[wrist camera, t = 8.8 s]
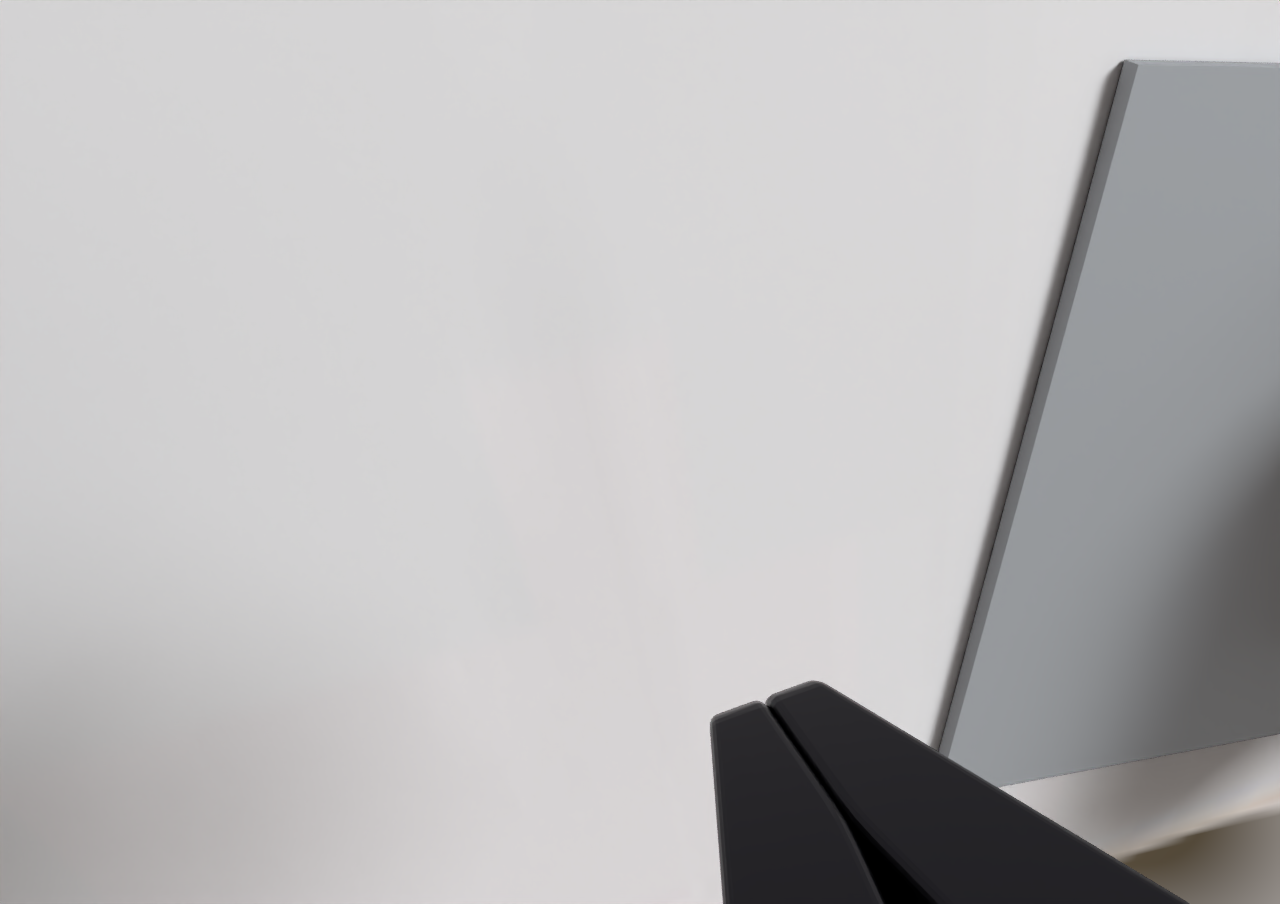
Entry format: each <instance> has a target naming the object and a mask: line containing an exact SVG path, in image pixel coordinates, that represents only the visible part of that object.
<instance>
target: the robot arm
mask: <svg viewBox="0 0 1280 904" xmlns="http://www.w3.org/2000/svg"><path fill="white" fill-rule="evenodd" d="M710 736H711V749H712V763H713V776H714V789H715V803H716V816H717V830H718V843H719V857H720V870H721V883H722V897H723V904H1190V903H1188V902H1186V901H1185V900H1183V899H1181V898H1180V897H1178V896H1176V895H1175V894H1173V893H1171V892H1170V891H1168V890H1166V889H1165V888H1163V887H1162V886H1160V885H1158V884H1157V883H1155V882H1153V881H1152V880H1150V879H1148V878H1147V877H1145V876H1143V875H1142V874H1140V873H1138V872H1137V871H1135V870H1133V869H1131V868H1130V867H1128V866H1127V865H1125V864H1123V863H1122V862H1120V861H1118V860H1117V859H1115V858H1113V857H1112V856H1110V855H1109V854H1107V853H1105V852H1104V851H1102V850H1100V849H1099V848H1097V847H1095V846H1094V845H1092V844H1090V843H1089V842H1087V841H1085V840H1084V839H1082V838H1080V837H1079V836H1077V835H1075V834H1074V833H1072V832H1070V831H1069V830H1067V829H1065V828H1064V827H1062V826H1060V825H1059V824H1057V823H1055V822H1054V821H1052V820H1051V819H1049V818H1047V817H1046V816H1044V815H1042V814H1041V813H1039V812H1037V811H1036V810H1034V809H1032V808H1031V807H1029V806H1027V805H1026V804H1024V803H1022V802H1021V801H1019V800H1017V799H1016V798H1014V797H1012V796H1011V795H1009V794H1007V793H1006V792H1004V791H1002V790H1001V789H999V788H997V787H996V786H994V785H992V784H991V783H989V782H988V781H986V780H984V779H983V778H981V777H979V776H978V775H976V774H974V773H973V772H971V771H969V770H968V769H966V768H964V767H963V766H961V765H959V764H958V763H956V762H954V761H953V760H951V759H949V758H948V757H946V756H944V755H943V754H941V753H939V752H938V751H936V750H934V749H933V748H931V747H930V746H928V745H926V744H925V743H923V742H921V741H920V740H918V739H916V738H915V737H913V736H911V735H910V734H908V733H906V732H905V731H903V730H901V729H900V728H898V727H896V726H895V725H893V724H891V723H890V722H888V721H886V720H885V719H883V718H881V717H880V716H878V715H876V714H875V713H873V712H872V711H870V710H868V709H867V708H865V707H863V706H862V705H860V704H858V703H857V702H855V701H853V700H852V699H850V698H848V697H847V696H845V695H843V694H842V693H840V692H838V691H837V690H835V689H833V688H832V687H830V686H828V685H827V684H825V683H823V682H819V681H808V682H805V683H802V684H800V685H797V686H794V687H791V688H789V689H786V690H783V691H780V692H777V693H775V694H772V695H771V696H770V697H768V699H767V700H766V703H765V704H764V703H762V702H760V701H753V702H750V703H747V704H744V705H742V706H739V707H736V708H733V709H731V710H728V711H725V712H722V713H720V714H717V715H715V716H714V717H713V718H712V719H711V722H710Z"/></svg>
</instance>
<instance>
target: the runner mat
mask: <svg viewBox="0 0 1280 904" xmlns="http://www.w3.org/2000/svg"><path fill="white" fill-rule="evenodd" d="M1277 734H1280V63H1246V62H1202V61H1159V60H1124V64H1123V67H1122V71H1121V75H1120V78H1119V82H1118V86H1117V90H1116V93H1115V97H1114V101H1113V105H1112V108H1111V112H1110V116H1109V119H1108V123H1107V127H1106V131H1105V134H1104V138H1103V142H1102V145H1101V149H1100V153H1099V157H1098V160H1097V164H1096V168H1095V172H1094V175H1093V179H1092V183H1091V186H1090V190H1089V194H1088V198H1087V201H1086V205H1085V209H1084V212H1083V216H1082V220H1081V224H1080V227H1079V231H1078V235H1077V239H1076V242H1075V246H1074V250H1073V253H1072V257H1071V261H1070V265H1069V268H1068V272H1067V276H1066V279H1065V283H1064V287H1063V291H1062V294H1061V298H1060V302H1059V306H1058V309H1057V313H1056V317H1055V320H1054V324H1053V328H1052V332H1051V335H1050V339H1049V343H1048V346H1047V350H1046V354H1045V358H1044V361H1043V365H1042V369H1041V373H1040V376H1039V380H1038V384H1037V387H1036V391H1035V395H1034V399H1033V402H1032V406H1031V410H1030V413H1029V417H1028V421H1027V425H1026V428H1025V432H1024V436H1023V440H1022V443H1021V447H1020V451H1019V454H1018V458H1017V462H1016V466H1015V469H1014V473H1013V477H1012V480H1011V484H1010V488H1009V492H1008V495H1007V499H1006V503H1005V507H1004V510H1003V514H1002V518H1001V521H1000V525H999V529H998V533H997V536H996V540H995V544H994V547H993V551H992V555H991V559H990V562H989V566H988V570H987V574H986V577H985V581H984V585H983V588H982V592H981V596H980V600H979V603H978V607H977V611H976V614H975V618H974V622H973V626H972V629H971V633H970V637H969V641H968V644H967V648H966V652H965V655H964V659H963V663H962V667H961V670H960V674H959V678H958V681H957V685H956V689H955V693H954V696H953V700H952V704H951V708H950V711H949V715H948V719H947V722H946V726H945V730H944V734H943V737H942V741H941V745H940V748H939V753H941V754H943V755H944V756H946V757H948V758H949V759H951V760H953V761H954V762H956V763H958V764H959V765H961V766H963V767H964V768H966V769H968V770H969V771H971V772H973V773H974V774H976V775H978V776H979V777H981V778H983V779H984V780H986V781H988V782H989V783H991V784H992V785H994V786H996V787H1002V786H1007V785H1013V784H1018V783H1023V782H1028V781H1034V780H1039V779H1044V778H1050V777H1055V776H1060V775H1065V774H1071V773H1076V772H1081V771H1086V770H1092V769H1097V768H1102V767H1108V766H1113V765H1118V764H1123V763H1129V762H1134V761H1139V760H1145V759H1150V758H1155V757H1160V756H1166V755H1171V754H1176V753H1182V752H1187V751H1192V750H1197V749H1203V748H1208V747H1213V746H1219V745H1224V744H1229V743H1234V742H1240V741H1245V740H1250V739H1255V738H1261V737H1266V736H1271V735H1277Z"/></svg>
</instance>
